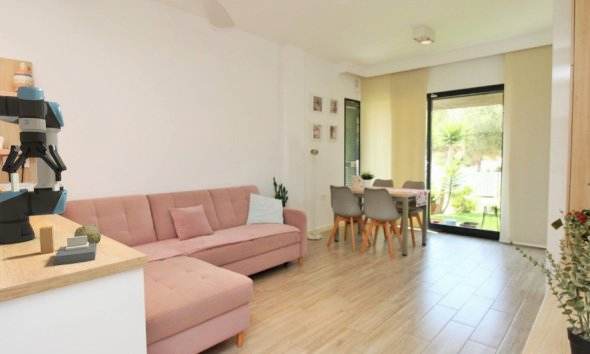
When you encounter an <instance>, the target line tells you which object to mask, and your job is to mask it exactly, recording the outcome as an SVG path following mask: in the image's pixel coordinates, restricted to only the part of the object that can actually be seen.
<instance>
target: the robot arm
mask: <svg viewBox="0 0 590 354" xmlns="http://www.w3.org/2000/svg"><path fill="white" fill-rule="evenodd" d="M44 92H45V91H44V90H43V88H42V87H41V88H40V87H35V86H27V85H23V86H19V87H17V92H16V95H15V96H13V95H12V96H11V95H0V121H1V122H5V123H9V124H13V125H18V130H20V132H19V143H20V145H17V144H11V145H10V150H9V152H8V155H7V157H6V159H5V161H4V164H3V165H2V168H1V171H2V172H5V173H7V174H8V175H7V176H8V182H9V183H10V186H11V188H10V189H11V190H5V191H1V192H0V245H4V244H5V245H6V244H17V243H21V242H27V241H31V240H33V239H35V238H36V233H35V231H34V230H35V229H34V228H33V226H32V223H31V222H30V217H36V216H49V215H51V216H54V215H58V214H59V215H61V214H63V213H64V212H65V211H66V206H67V197H68V190H67V189H64V185H63V184H61V182H62V172H64V171H67V169H68V168H67V166H66V164H65V163H64V161H63V158H62V157H61V156H60V153H59V145H58V144H59V143H58V133H59V132H61V131H62V128H63V127H65V123H64V117H63V112H62V107H61V105H60V104H59V103H58V102H54V101H50V100H49V101H48V100H47V101H46V100H45V98H46V97H45V93H44ZM20 151H21V152H20ZM19 153H20V154H19ZM17 157H18V158H17ZM30 158H31V159H34V158H35V159H36V160H35V162H36V176H37V177H36V179H37V182H36V184H35V185H34V187H33V191H30V190H29V189H28V188H20V181H19V179H20V178H19V172H17V171H18V170H19V169H20V168H21V167H22V166H23V164H24V163H25V162H26V160H28V159H30Z"/></svg>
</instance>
